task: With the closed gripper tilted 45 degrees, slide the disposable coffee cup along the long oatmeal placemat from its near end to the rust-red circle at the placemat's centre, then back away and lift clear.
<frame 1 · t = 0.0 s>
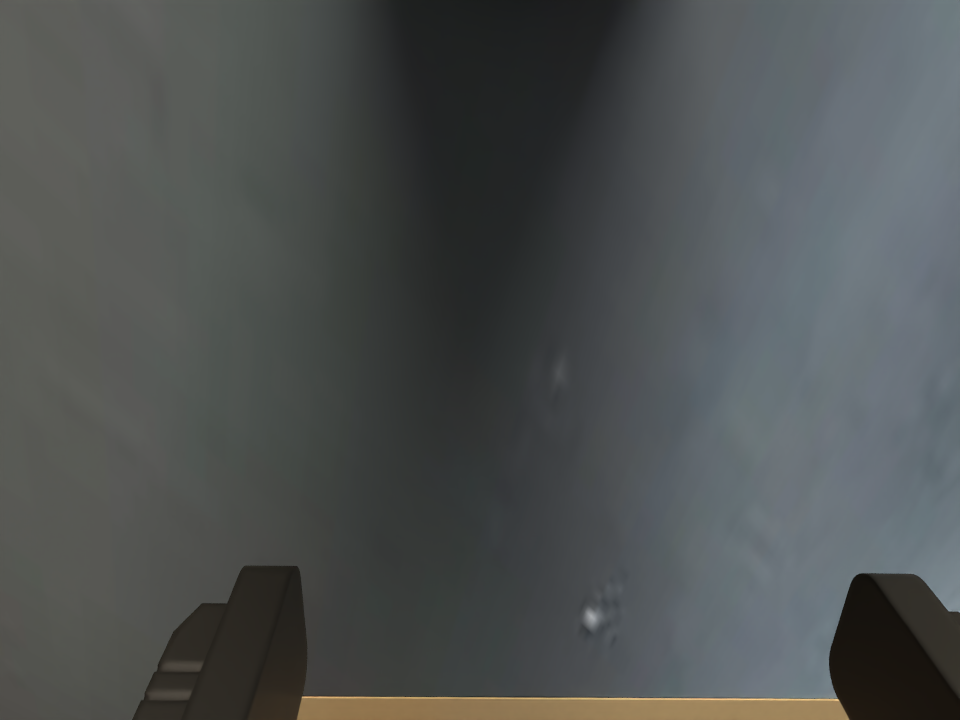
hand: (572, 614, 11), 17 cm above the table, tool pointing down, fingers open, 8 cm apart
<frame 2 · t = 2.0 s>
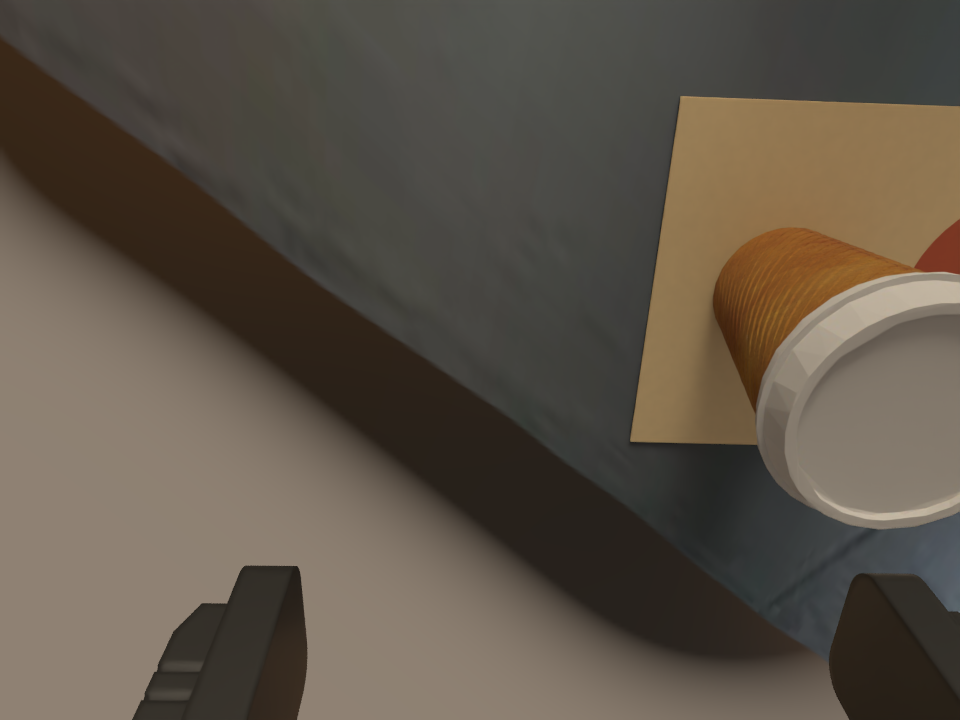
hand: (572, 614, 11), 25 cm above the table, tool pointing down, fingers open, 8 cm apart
disposable coffee cup: (778, 290, 35), resting on placemat
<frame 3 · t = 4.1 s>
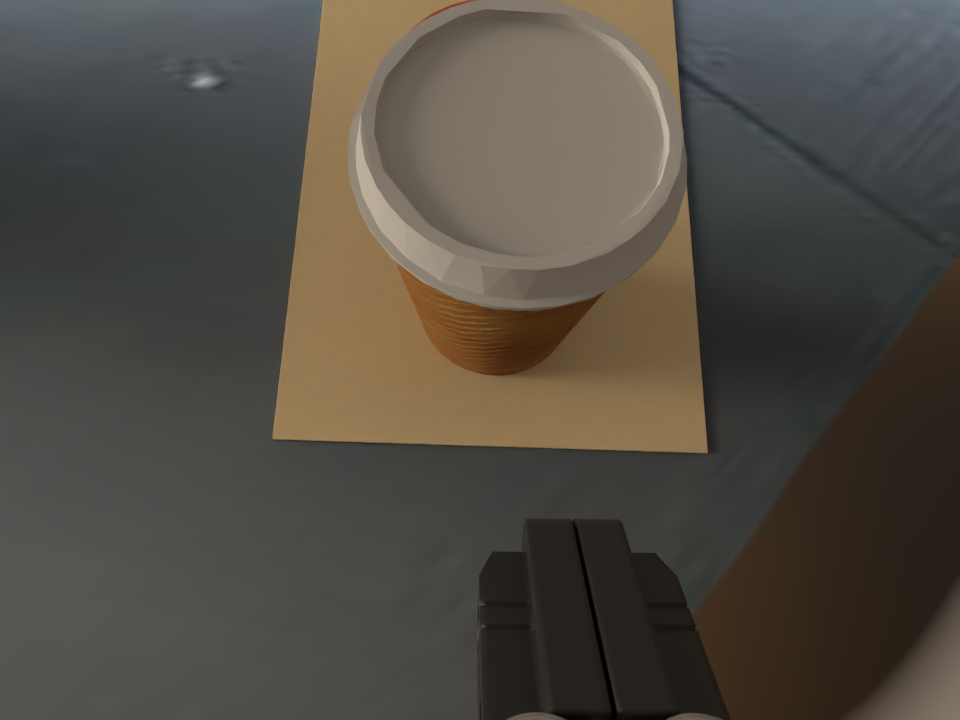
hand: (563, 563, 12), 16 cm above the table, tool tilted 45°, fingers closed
disposable coffee cup: (494, 306, 31), resting on placemat
placemat: (498, 87, 35), on the table
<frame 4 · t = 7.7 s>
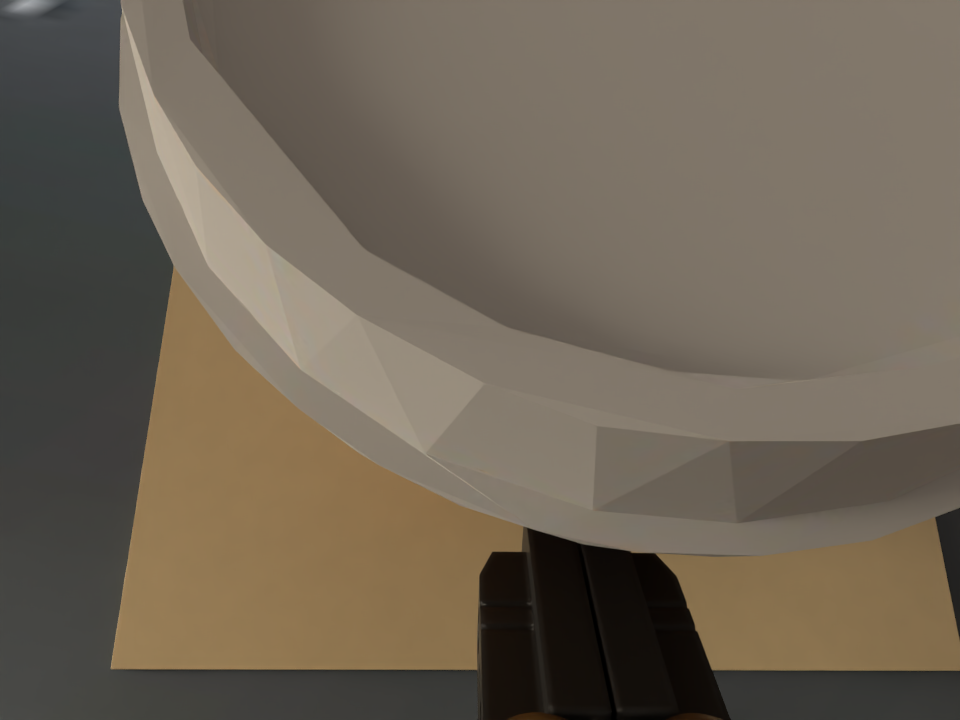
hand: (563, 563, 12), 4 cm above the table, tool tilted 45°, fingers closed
disposable coffee cup: (537, 384, 17), resting on placemat, touching gripper
placemat: (528, 4, 21), on the table
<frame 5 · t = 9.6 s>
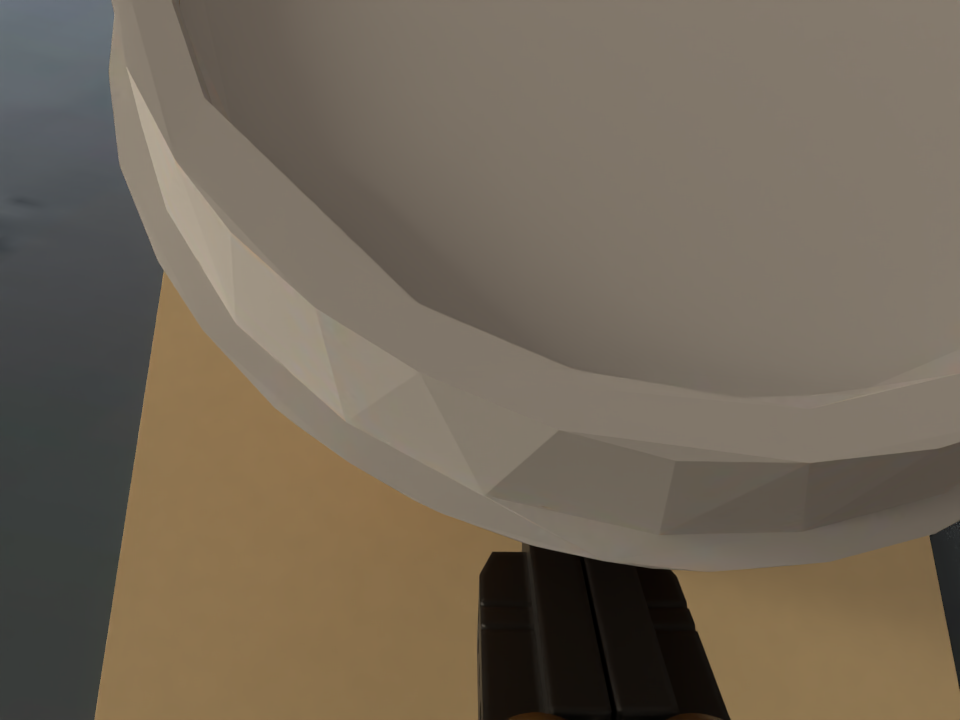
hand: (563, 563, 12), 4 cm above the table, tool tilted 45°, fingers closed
disposable coffee cup: (533, 383, 17), resting on placemat, touching gripper
placemat: (525, 236, 18), on the table
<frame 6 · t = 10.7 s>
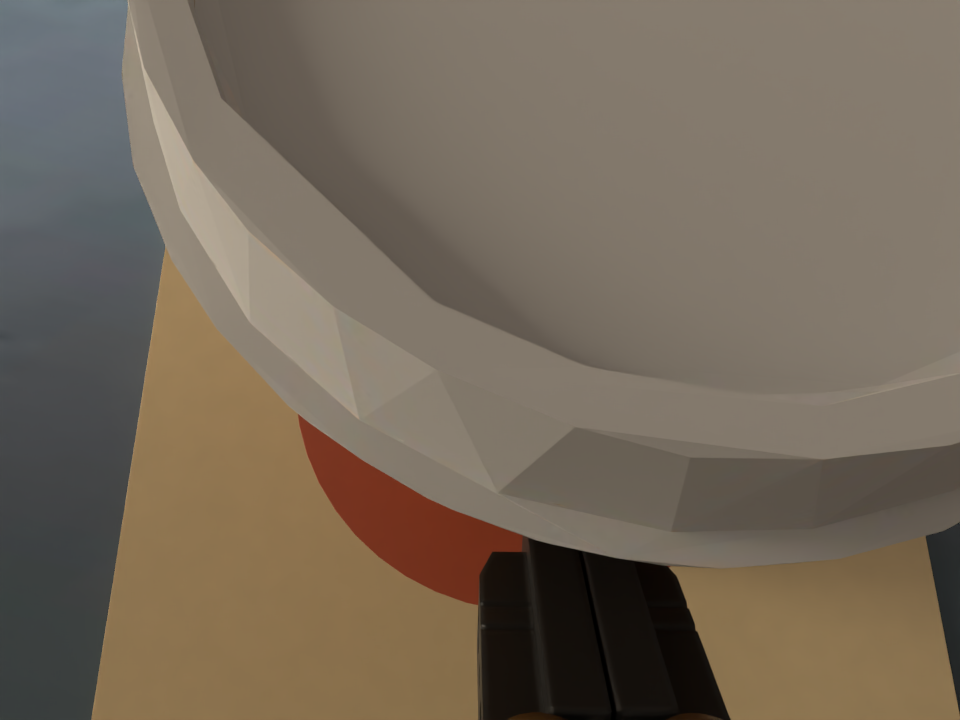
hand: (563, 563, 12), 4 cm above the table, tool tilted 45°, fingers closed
disposable coffee cup: (536, 384, 17), resting on placemat, touching gripper
placemat: (526, 371, 17), on the table
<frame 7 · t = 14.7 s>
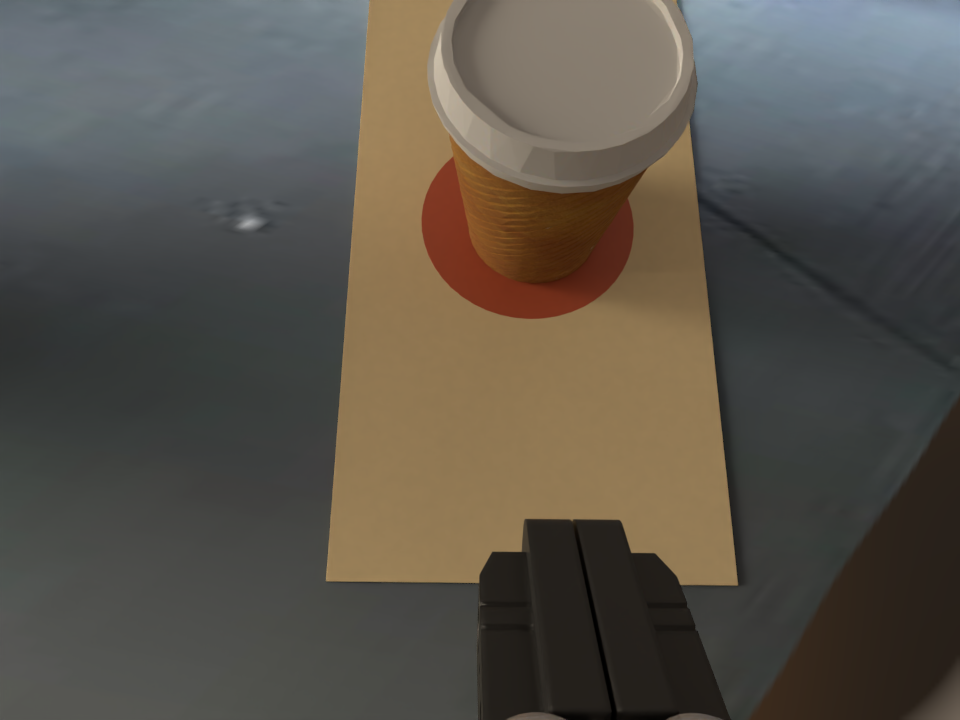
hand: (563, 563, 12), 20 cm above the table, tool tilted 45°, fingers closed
disposable coffee cup: (532, 227, 37), resting on placemat
placemat: (527, 222, 37), on the table
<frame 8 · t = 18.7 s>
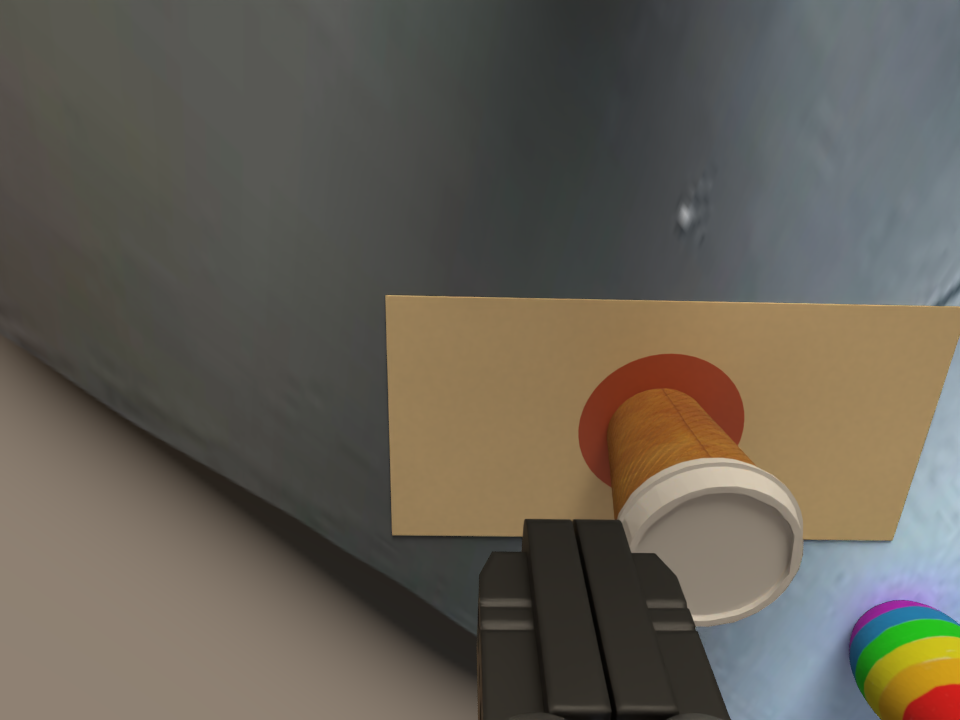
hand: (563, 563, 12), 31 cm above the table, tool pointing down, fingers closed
decorative egg: (888, 626, 55), on the table
disposable coffee cup: (655, 430, 47), resting on placemat
placemat: (660, 428, 47), on the table
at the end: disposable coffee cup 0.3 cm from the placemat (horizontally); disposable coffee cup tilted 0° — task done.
